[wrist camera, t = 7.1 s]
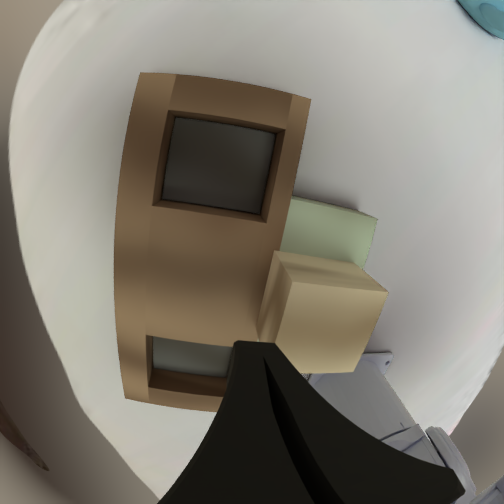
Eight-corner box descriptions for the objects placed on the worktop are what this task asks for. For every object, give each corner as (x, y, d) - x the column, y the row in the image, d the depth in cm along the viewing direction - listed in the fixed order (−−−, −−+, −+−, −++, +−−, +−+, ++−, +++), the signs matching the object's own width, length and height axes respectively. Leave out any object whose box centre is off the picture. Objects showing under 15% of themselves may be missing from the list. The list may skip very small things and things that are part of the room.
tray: (296, 393, 22) (302, 413, 20) (131, 377, 20) (125, 398, 17) (374, 133, 16) (395, 131, 13) (151, 84, 13) (140, 72, 11)
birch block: (329, 332, 17) (353, 371, 13) (255, 328, 16) (266, 372, 12) (354, 262, 16) (388, 292, 12) (274, 250, 15) (292, 281, 11)
